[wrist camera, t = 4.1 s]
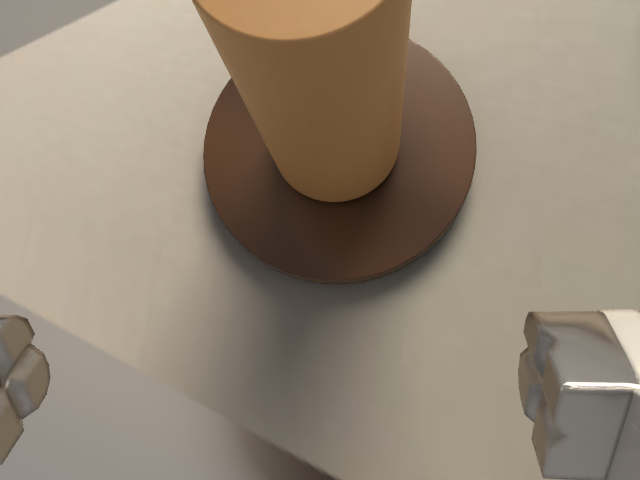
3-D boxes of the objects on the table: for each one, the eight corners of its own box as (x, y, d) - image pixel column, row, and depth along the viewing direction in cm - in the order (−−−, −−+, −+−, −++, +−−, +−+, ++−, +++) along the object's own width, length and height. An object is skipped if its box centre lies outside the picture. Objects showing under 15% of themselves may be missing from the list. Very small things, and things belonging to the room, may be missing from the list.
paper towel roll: (352, 227, 27) (323, 84, 14) (245, 157, 29) (121, -35, 15) (424, 123, 28) (466, -110, 14) (316, 60, 29) (261, -206, 16)
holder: (374, 339, 28) (374, 337, 26) (159, 190, 31) (147, 181, 29) (524, 115, 29) (532, 101, 28) (306, -6, 32) (303, -23, 31)
